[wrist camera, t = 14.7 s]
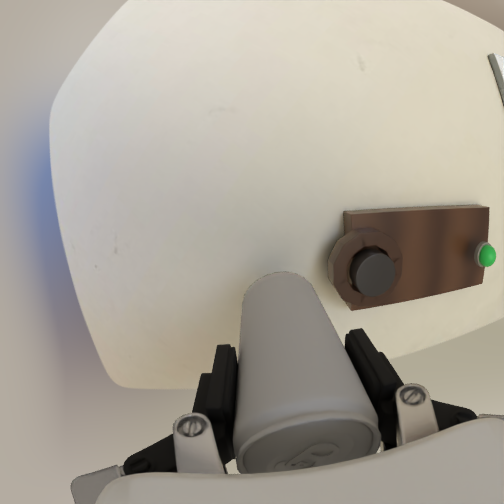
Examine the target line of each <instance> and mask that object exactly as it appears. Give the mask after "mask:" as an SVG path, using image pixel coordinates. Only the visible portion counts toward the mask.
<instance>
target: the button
mask: <svg viewBox="0 0 504 504" xmlns="http://www.w3.org/2000/svg"><path fill="white" fill-rule="evenodd" d="M349 275H350V279H351V281H352V283H353V284H354V285H355V286H356V288H357V289H358V290H359V291H360V292H361V293H362V294H364V295H366V296H370V297H374V296H379V295H381V294H383V293H384V292H386V291H387V290H388V289H389V288H390V286H391V285H392V283H393V281H394V278H395V266H394V263H393V261H392V260H391V258H389V257H388V256H387V255H385V254H383V253H382V252H380V251H379V250H376V249H366V250H363V251H361V252H360V253H358V254H357V255H356V256H355V257H354V259H353V260H352V262H351V265H350V269H349Z"/></svg>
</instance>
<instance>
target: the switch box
mask: <svg viewBox="0 0 504 504" xmlns="http://www.w3.org/2000/svg"><path fill="white" fill-rule="evenodd" d="M488 229H489V207H486V206H481V205H452V206H426V207H405V208H387V209H370V210H355V211H344V236H343V237H342V238H340V239H339V240H338V241H337V242H336V244H335V246H334V248H333V250H332V252H331V254H330V256H329V258H328V278H329V280H330V281H331V283H332V284H333V286H334V287H335V289H336V291H337V292H338V294H339V295H340V296H341V298H342V299H343V300H344V301H345V303H346V304H347V306H348V307H349V308H350V310H351V311H353V310H360V309H366V308H372V307H377V306H383V305H389V304H394V303H399V302H404V301H409V300H414V299H419V298H424V297H428V296H433V295H438V294H442V293H446V292H450V291H455V290H459V289H463V288H467V287H471V286H475V285H478V284H482V282H483V276H484V269H485V267H480V266H478V265H477V264H476V263H475V259H474V254H475V250H476V248H477V246H478V244H479V243H481V242H483V241H485V242H488ZM366 249H376V250H379V251H380V252H382V253H383V254H385V255H387V256H388V257H389V258H391V260H392V261H393V263H394V266H395V278H394V281H393V283H392V285H391V286H390V288H389V289H388V290H387V291H386V292H384V293H383V294H381V295H379V296H374V297H370V296H366V295H364V294H362V293H361V292H360V291H359V290H358V289H357V288H356V286H355V285H354V284H353V283H352V281H351V279H350V275H349V269H350V265H351V262H352V260H353V259H354V257H355V256H356V255H357V254H358V253H360V252H361V251H363V250H366Z"/></svg>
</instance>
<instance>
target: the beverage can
mask: <svg viewBox="0 0 504 504" xmlns="http://www.w3.org/2000/svg"><path fill="white" fill-rule="evenodd" d="M380 444H381V433H380V431H379V430H378V416H377V414H376V412H375V410H374V407H373V405H372V403H371V401H370V399H369V397H368V395H367V393H366V391H365V388H364V386H363V384H362V382H361V380H360V378H359V376H358V374H357V372H356V370H355V368H354V366H353V364H352V362H351V360H350V358H349V356H348V354H347V352H346V350H345V348H344V346H343V344H342V342H341V340H340V338H339V336H338V334H337V332H336V330H335V328H334V326H333V324H332V323H331V321H330V319H329V317H328V315H327V313H326V311H325V309H324V307H323V305H322V303H321V301H320V300H319V298H318V296H317V294H316V292H315V290H314V288H313V287H312V285H311V284H310V283H309V282H308V281H307V280H306V279H305V278H304V277H302V276H300V275H298V274H296V273H291V272H276V273H272V274H269V275H266V276H264V277H262V278H260V279H258V280H257V281H255V282H254V283H253V284H252V285H251V286H250V287H249V288H248V290H247V292H246V293H245V295H244V299H243V303H242V315H241V329H240V343H239V356H238V370H237V385H236V399H235V414H234V428H233V448H234V454H235V456H236V463H237V469H238V471H239V472H240V473H241V474H254V473H270V472H281V471H290V470H298V469H306V468H312V467H318V466H324V465H330V464H335V463H340V462H344V461H349V460H353V459H357V458H361V457H365V456H369V455H373V454H376V452H377V450H378V448H379V447H380Z"/></svg>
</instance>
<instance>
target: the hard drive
mask: <svg viewBox="0 0 504 504" xmlns="http://www.w3.org/2000/svg"><path fill="white" fill-rule="evenodd" d="M488 57H489V60H490V63H491V66H492V69H493V72H494V75H495V78H496V81H497V84H498V87H499V90H500V94H501V97H502V101H503V105H504V57H502V56H500V55H497V54H494V53H492V54H489V55H488Z"/></svg>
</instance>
